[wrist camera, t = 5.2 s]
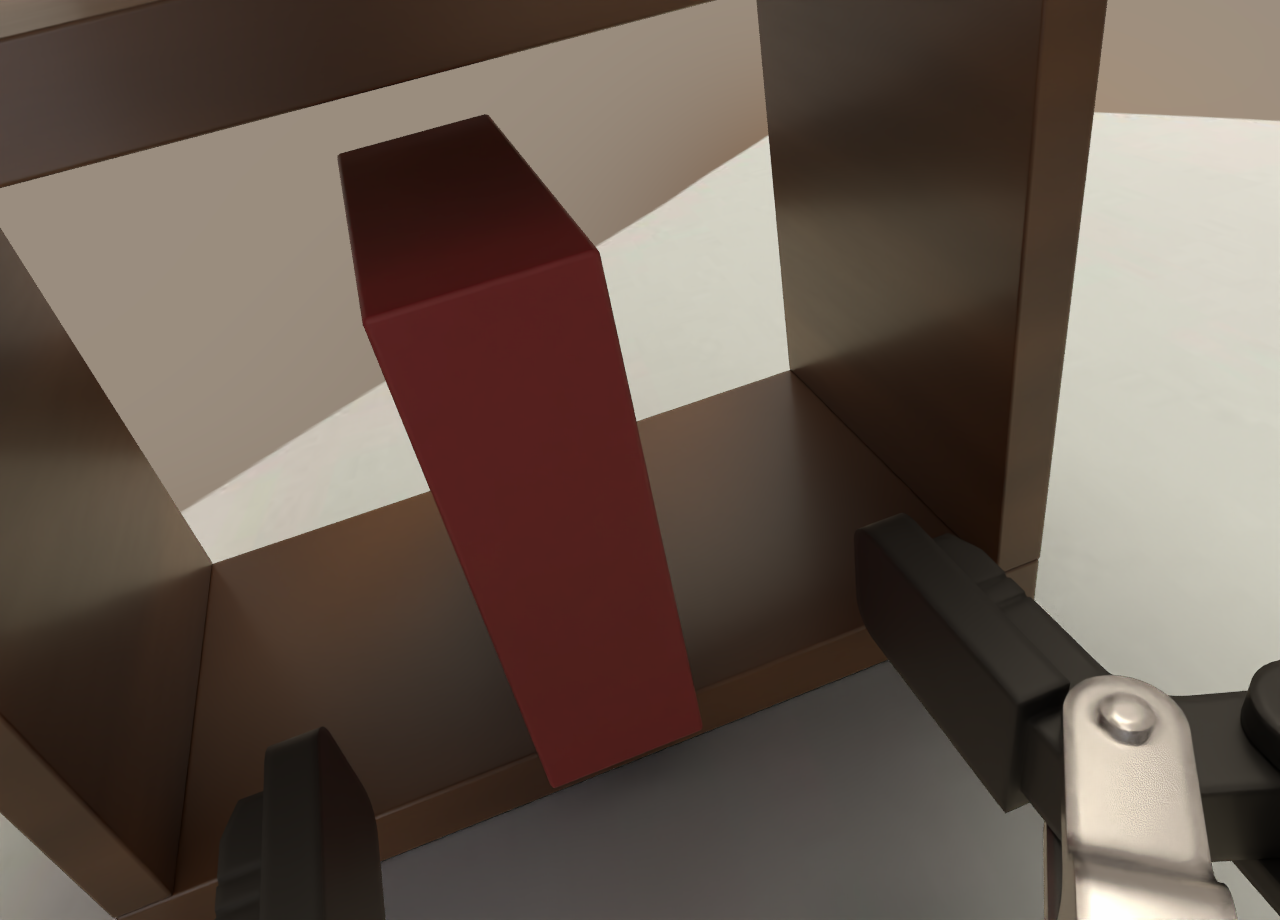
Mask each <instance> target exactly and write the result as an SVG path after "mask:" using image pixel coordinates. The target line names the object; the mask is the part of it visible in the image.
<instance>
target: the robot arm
mask: <svg viewBox="0 0 1280 920" xmlns="http://www.w3.org/2000/svg"><path fill="white" fill-rule="evenodd" d="M854 553H855V574H856V596H857V604H858V608H859V612H860V615H861V618H862V620H863V622H864V625H865V627H866V629H867V631H868V632H869V634H870V636H871V637H872V639H873V640H874V641H875V643H876V644H877V645H878V647H879V648H880V649H881V651H882V652H883V653H884V655H885V656H886V657H887V658H888V660H889V661H890V662H891V664H892V665H893V666H894V668H895V669H896V670H897V672H898V673H899V674H900V676H901V677H902V678H903V680H904V681H905V682H906V683H907V685H908V686H909V687H910V689H911V690H912V691H913V693H914V694H915V695H916V697H917V698H918V699H919V701H920V702H921V703H922V705H923V706H924V707H925V708H926V710H927V711H928V712H929V714H930V715H931V716H932V718H933V719H934V720H935V722H936V723H937V724H938V726H939V727H940V728H941V729H942V731H943V732H944V733H945V735H946V736H947V737H948V739H949V740H950V741H951V743H952V744H953V745H954V747H955V748H956V749H957V751H958V752H959V753H960V754H961V756H962V757H963V758H964V760H965V761H966V762H967V764H968V765H969V766H970V768H971V769H972V770H973V772H974V773H975V774H976V776H977V777H978V778H979V779H980V781H981V782H982V783H983V785H984V786H985V787H986V789H987V790H988V791H989V793H990V794H991V795H992V797H993V798H994V799H995V801H996V802H997V803H998V804H999V806H1000V807H1001V808H1002V810H1003V811H1004V812H1005V813H1007V812H1010V811H1012V810H1014V809H1016V808H1019V807H1021V806H1023V805H1026V804H1028V803H1031V804H1032V806H1033V807H1034V808H1035V809H1036V811H1037V812H1038V813H1039V814H1040V816H1041V817H1042V818H1043V819H1044V827H1043V864H1044V920H1237V915H1236V910H1235V905H1234V902H1233V898H1232V895H1231V893H1230V891H1229V889H1228V887H1227V886H1226V885H1225V884H1224V883H1220V882H1217V881H1216V879H1215V876H1214V873H1213V869H1212V864H1211V862H1220V861H1232V862H1233V863H1234V864H1235V865H1236V866H1237V868H1238V869H1239V870H1240V871H1241V872H1242V873H1243V874H1244V876H1245V877H1246V878H1247V879H1248V880H1249V881H1250V883H1251V884H1252V885H1253V886H1254V887H1255V888H1256V889H1257V891H1258V892H1259V893H1260V894H1261V895H1262V896H1263V897H1264V899H1265V900H1266V901H1267V902H1268V903H1269V904H1270V905H1271V907H1272V908H1273V909H1274V910H1275V911H1276V912H1277V913H1278V915H1279V916H1280V660H1278V661H1274V662H1271V663H1269V664H1267V665H1264V666H1263V667H1262V668H1260V669H1259V670H1258V671H1257V672H1256V673H1255V674H1254V676H1253V678H1252V680H1251V683H1250V686H1249V689H1248V691H1239V692H1227V693H1215V694H1204V695H1192V696H1169V695H1166V694H1165V693H1164V692H1162V691H1161V690H1159V689H1157V688H1156V687H1154V686H1152V685H1150V684H1148V683H1145V682H1143V681H1140V680H1137V679H1134V678H1130V677H1125V676H1116V675H1112V674H1110V673H1109V672H1108V671H1106V670H1105V669H1104V668H1103V667H1102V666H1101V665H1100V664H1099V663H1098V662H1097V661H1096V660H1095V659H1093V658H1092V657H1091V656H1090V655H1089V654H1088V653H1087V652H1086V651H1085V650H1084V649H1083V648H1082V647H1081V646H1080V645H1079V644H1078V643H1077V642H1076V641H1075V640H1074V639H1073V638H1072V637H1071V636H1070V635H1069V634H1068V633H1067V632H1066V631H1065V630H1064V629H1063V628H1062V627H1061V626H1060V625H1059V624H1058V623H1057V622H1056V621H1055V620H1054V619H1053V618H1052V617H1051V616H1049V615H1048V614H1047V613H1046V612H1045V611H1044V610H1043V609H1042V608H1041V607H1040V606H1039V605H1038V604H1037V603H1036V602H1035V601H1034V600H1033V599H1032V598H1031V597H1027V596H1026V594H1025V591H1024V590H1023V589H1022V588H1021V587H1020V586H1019V585H1018V584H1017V583H1016V582H1015V581H1014V580H1013V579H1012V578H1011V577H1010V578H1008V577H1007V576H1006V573H1005V572H1004V571H1003V570H1002V569H1001V568H1000V567H999V566H998V565H997V564H996V563H995V562H994V561H993V560H992V559H991V558H990V557H989V556H988V555H987V554H986V553H985V552H984V551H983V550H982V549H980V548H978V547H976V546H974V545H972V544H970V543H968V542H966V541H964V540H962V539H960V538H958V537H956V536H954V535H951V534H949V533H946V534H943V535H941V536H938V537H936V538H933V539H932V538H931V537H930V536H929V535H928V534H927V533H926V532H925V531H924V530H923V529H922V528H921V527H920V526H919V525H918V524H917V523H916V522H915V521H914V520H913V519H912V518H911V517H910V516H909V515H907V514H905V513H899V514H897V515H894V516H891V517H888V518H886V519H883V520H880V521H878V522H875V523H872V524H870V525H867V526H864V527H862V528H859V529H857V530H856V531H855V534H854ZM217 880H218V886H217V887H216V897H215V910H214V911H215V913H216V919H214V920H386V919H385V908H384V897H383V885H382V874H381V863H380V852H379V841H378V831H377V824H376V819H375V815H374V811H373V808H372V805H371V802H370V799H369V797H368V794H367V792H366V790H365V788H364V786H363V785H362V783H361V781H360V780H359V778H358V777H357V775H356V773H355V772H354V770H353V769H352V767H351V765H350V764H349V762H348V761H347V759H346V757H345V756H344V754H343V753H342V751H341V749H340V748H339V746H338V745H337V743H336V741H335V740H334V738H333V737H332V735H331V733H330V732H329V731H328V730H327V728H325V727H323V726H322V727H319V728H317V729H314V730H311V731H309V732H306V733H303V734H300V735H298V736H295V737H292V738H290V739H287V740H284V741H282V742H279V743H276V744H274V745H271V746H269V747H268V748H267V749H266V752H265V758H264V786H263V791H261V792H258V793H256V794H253V795H250V796H248V797H245V798H243V799H240V800H238V801H237V804H236V806H235V808H234V810H233V812H232V815H231V817H230V819H229V821H228V823H227V825H226V828H225V830H224V832H223V834H222V836H221V839H220V843H219V857H218V870H217Z"/></svg>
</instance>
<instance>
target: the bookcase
mask: <svg viewBox="0 0 1280 920" xmlns="http://www.w3.org/2000/svg"><path fill="white" fill-rule="evenodd" d="M711 1H715V0H0V188H2V187H6V186H10V185H14V184H17V183H21V182H25V181H29V180H32V179H37V178H40V177H44V176H48V175H52V174H55V173H60V172H63V171H67V170H70V169H75V168H79V167H82V166H86V165H90V164H93V163H97V162H101V161H105V160H109V159H113V158H117V157H120V156H124V155H128V154H131V153H135V152H139V151H143V150H147V149H151V148H155V147H159V146H162V145H166V144H170V143H174V142H178V141H181V140H185V139H189V138H193V137H197V136H200V135H204V134H208V133H212V132H215V131H219V130H223V129H227V128H231V127H234V126H238V125H242V124H246V123H250V122H254V121H258V120H261V119H265V118H269V117H273V116H277V115H280V114H284V113H288V112H292V111H296V110H299V109H303V108H307V107H311V106H314V105H318V104H322V103H326V102H330V101H333V100H338V99H341V98H345V97H349V96H353V95H357V94H360V93H364V92H368V91H372V90H376V89H379V88H383V87H387V86H391V85H395V84H399V83H402V82H406V81H410V80H414V79H418V78H421V77H425V76H429V75H433V74H436V73H440V72H444V71H448V70H452V69H456V68H459V67H463V66H467V65H471V64H474V63H479V62H482V61H486V60H490V59H494V58H498V57H501V56H505V55H509V54H513V53H517V52H520V51H524V50H528V49H531V48H535V47H539V46H543V45H547V44H550V43H554V42H558V41H562V40H566V39H570V38H574V37H578V36H581V35H585V34H588V33H592V32H597V31H600V30H604V29H608V28H611V27H616V26H619V25H623V24H627V23H631V22H634V21H638V20H642V19H646V18H650V17H654V16H657V15H661V14H665V13H669V12H673V11H676V10H680V9H684V8H688V7H692V6H696V5H699V4H703V3H707V2H711ZM1106 8H1107V0H757V11H758V21H759V33H760V44H761V55H762V66H763V77H764V88H765V99H766V110H767V122H768V132H769V144H770V155H771V166H772V177H773V188H774V199H775V210H776V221H777V233H778V244H779V255H780V266H781V277H782V288H783V299H784V310H785V321H786V332H787V343H788V355H789V366H790V369H791V370H789V371H786V372H783V373H780V374H777V375H774V376H771V377H768V378H765V379H762V380H759V381H756V382H753V383H750V384H747V385H744V386H741V387H738V388H735V389H732V390H729V391H726V392H723V393H720V394H717V395H714V396H711V397H708V398H706V399H703V400H700V401H697V402H694V403H691V404H688V405H685V406H682V407H679V408H676V409H673V410H670V411H667V412H664V413H661V414H658V415H655V416H652V417H649V418H646V419H643V420H640V421H637V426H638V431H639V436H640V440H641V445H642V449H643V454H644V459H645V463H646V468H647V472H648V477H649V481H650V486H651V491H652V495H653V500H654V504H655V509H656V514H657V518H658V523H659V527H660V532H661V537H662V541H663V546H664V550H665V555H666V559H667V564H668V569H669V573H670V578H671V582H672V587H673V592H674V596H675V601H676V605H677V610H678V615H679V619H680V624H681V628H682V633H683V637H684V642H685V647H686V651H687V656H688V660H689V665H690V670H691V674H692V679H693V683H694V688H695V693H696V697H697V702H698V706H699V711H700V715H701V720H702V729H701V730H700V731H698V732H695V733H693V734H690V735H688V736H685V737H683V738H680V739H678V740H675V741H673V742H670V743H668V744H665V745H662V746H660V747H657V748H655V749H652V750H650V751H647V752H645V753H642V754H640V755H637V756H635V757H632V758H630V759H627V760H625V761H622V762H620V763H617V764H615V765H612V766H610V767H607V768H605V769H602V770H600V771H597V772H595V773H592V774H589V775H587V776H584V777H582V778H579V779H577V780H574V781H572V782H569V783H567V784H564V785H562V786H559V787H557V788H553V787H552V786H551V785H550V783H549V780H548V778H547V775H546V773H545V771H544V768H543V766H542V763H541V761H540V758H539V756H538V753H537V751H536V748H535V746H534V744H533V741H532V739H531V736H530V734H529V731H528V729H527V726H526V724H525V721H524V719H523V717H522V714H521V712H520V709H519V707H518V704H517V702H516V699H515V697H514V694H513V692H512V690H511V687H510V685H509V682H508V680H507V677H506V675H505V672H504V670H503V667H502V665H501V662H500V660H499V658H498V655H497V653H496V650H495V648H494V645H493V643H492V640H491V638H490V635H489V633H488V631H487V628H486V626H485V623H484V621H483V618H482V616H481V613H480V611H479V608H478V606H477V604H476V601H475V599H474V596H473V594H472V591H471V589H470V586H469V584H468V581H467V579H466V577H465V574H464V572H463V569H462V567H461V564H460V562H459V559H458V557H457V554H456V552H455V550H454V547H453V545H452V542H451V540H450V537H449V535H448V532H447V530H446V527H445V525H444V523H443V520H442V518H441V515H440V513H439V510H438V508H437V505H436V503H435V500H434V498H433V495H432V493H431V491H429V492H426V493H423V494H420V495H417V496H414V497H411V498H408V499H405V500H402V501H399V502H396V503H393V504H390V505H387V506H384V507H381V508H378V509H375V510H372V511H369V512H366V513H363V514H360V515H357V516H354V517H351V518H348V519H345V520H342V521H339V522H336V523H333V524H331V525H328V526H325V527H322V528H319V529H316V530H313V531H310V532H307V533H304V534H301V535H298V536H295V537H292V538H289V539H286V540H283V541H280V542H277V543H274V544H271V545H268V546H265V547H262V548H259V549H256V550H253V551H250V552H247V553H244V554H241V555H238V556H235V557H232V558H229V559H226V560H223V561H220V562H217V563H214V564H212V562H211V560H210V558H209V557H208V555H207V554H206V552H205V550H204V549H203V547H202V546H201V544H200V543H199V541H198V539H197V538H196V536H195V535H194V533H193V532H192V530H191V528H190V527H189V525H188V524H187V522H186V520H185V519H184V517H183V516H182V514H181V513H180V511H179V509H178V508H177V506H176V505H175V503H174V502H173V500H172V498H171V497H170V495H169V494H168V492H167V490H166V489H165V487H164V486H163V484H162V483H161V481H160V479H159V478H158V476H157V475H156V473H155V472H154V470H153V468H152V467H151V465H150V464H149V462H148V461H147V459H146V457H145V456H144V454H143V453H142V451H141V450H140V448H139V446H138V445H137V443H136V442H135V440H134V438H133V437H132V435H131V434H130V432H129V431H128V429H127V427H126V426H125V424H124V423H123V421H122V420H121V418H120V416H119V415H118V413H117V412H116V410H115V408H114V407H113V405H112V404H111V402H110V400H109V399H108V397H107V396H106V394H105V393H104V391H103V390H102V388H101V386H100V385H99V383H98V382H97V380H96V378H95V377H94V375H93V374H92V372H91V370H90V369H89V367H88V366H87V364H86V363H85V361H84V359H83V358H82V356H81V355H80V353H79V351H78V350H77V348H76V347H75V345H74V344H73V342H72V341H71V339H70V338H69V336H68V334H67V333H66V331H65V330H64V328H63V326H62V325H61V323H60V321H59V320H58V318H57V317H56V315H55V314H54V312H53V311H52V309H51V307H50V306H49V304H48V303H47V301H46V299H45V298H44V296H43V295H42V293H41V291H40V290H39V289H38V287H37V285H36V284H35V282H34V280H33V279H32V277H31V276H30V274H29V273H28V271H27V269H26V268H25V266H24V265H23V263H22V262H21V260H20V258H19V257H18V255H17V254H16V252H15V251H14V249H13V247H12V246H11V244H10V243H9V241H8V239H7V238H6V236H5V235H4V233H3V232H2V230H1V228H0V813H1V814H2V815H3V816H4V817H6V818H7V819H8V820H9V821H10V822H11V823H12V824H13V825H14V826H15V827H16V828H17V829H18V830H19V831H21V832H22V833H23V834H24V835H25V836H26V837H27V838H28V839H29V840H30V841H31V842H32V843H33V844H34V845H36V846H37V847H38V848H39V849H40V850H41V851H42V852H43V853H44V854H45V855H46V856H47V857H48V858H49V859H50V860H52V861H53V862H54V863H55V864H56V865H57V866H58V867H59V868H60V869H61V870H62V871H63V872H64V873H65V874H67V875H68V876H69V877H70V878H71V879H72V880H73V881H74V882H75V883H76V884H77V885H78V886H79V887H80V888H82V889H83V890H84V891H85V892H86V893H87V894H88V895H89V896H90V897H91V898H92V899H93V900H94V901H95V902H97V903H98V904H99V905H100V906H101V907H102V908H103V909H104V910H105V911H106V912H107V913H108V914H109V915H110V916H112V917H114V918H115V917H116V919H117V920H214V919H216V913H215V911H214V910H215V897H216V887H217V886H218V880H217V870H218V857H219V843H220V839H221V836H222V834H223V832H224V830H225V828H226V825H227V823H228V821H229V819H230V817H231V815H232V812H233V810H234V808H235V806H236V804H237V801H238V800H240V799H243V798H245V797H248V796H250V795H253V794H256V793H258V792H261V791H263V786H264V758H265V752H266V749H267V748H268V747H269V746H271V745H274V744H276V743H279V742H282V741H284V740H287V739H290V738H292V737H295V736H298V735H300V734H303V733H306V732H309V731H311V730H314V729H317V728H319V727H322V726H323V727H325V728H327V730H328V731H329V732H330V733H331V735H332V737H333V738H334V740H335V741H336V743H337V745H338V746H339V748H340V749H341V751H342V753H343V754H344V756H345V757H346V759H347V761H348V762H349V764H350V765H351V767H352V769H353V770H354V772H355V773H356V775H357V777H358V778H359V780H360V781H361V783H362V785H363V786H364V788H365V790H366V792H367V794H368V797H369V799H370V802H371V805H372V808H373V811H374V815H375V819H376V824H377V831H378V841H379V852H380V862H381V861H383V860H386V859H389V858H391V857H394V856H396V855H399V854H401V853H404V852H406V851H409V850H411V849H414V848H416V847H419V846H421V845H424V844H426V843H429V842H431V841H434V840H436V839H439V838H441V837H444V836H446V835H449V834H451V833H454V832H456V831H459V830H461V829H464V828H466V827H469V826H471V825H474V824H476V823H479V822H481V821H484V820H487V819H489V818H492V817H494V816H497V815H499V814H502V813H504V812H507V811H509V810H512V809H514V808H517V807H519V806H522V805H524V804H527V803H529V802H532V801H534V800H537V799H539V798H542V797H544V796H547V795H549V794H552V793H554V792H557V791H559V790H562V789H564V788H567V787H569V786H572V785H574V784H577V783H579V782H582V781H584V780H587V779H590V778H592V777H595V776H597V775H600V774H602V773H605V772H607V771H610V770H612V769H615V768H617V767H620V766H622V765H625V764H627V763H630V762H632V761H635V760H637V759H640V758H642V757H645V756H647V755H650V754H652V753H655V752H657V751H660V750H662V749H665V748H667V747H670V746H672V745H675V744H677V743H680V742H682V741H685V740H688V739H690V738H693V737H695V736H698V735H700V734H703V733H705V732H708V731H710V730H713V729H715V728H718V727H720V726H723V725H725V724H728V723H730V722H733V721H735V720H738V719H740V718H743V717H745V716H748V715H750V714H753V713H755V712H758V711H760V710H763V709H765V708H768V707H770V706H773V705H775V704H778V703H780V702H783V701H786V700H788V699H791V698H793V697H796V696H798V695H801V694H803V693H806V692H808V691H811V690H813V689H816V688H818V687H821V686H823V685H826V684H828V683H831V682H833V681H836V680H838V679H841V678H843V677H846V676H848V675H851V674H853V673H856V672H858V671H861V670H863V669H866V668H868V667H871V666H873V665H876V664H878V663H881V662H884V661H886V660H888V658H887V657H886V656H885V655H884V653H883V652H882V651H881V649H880V648H879V647H878V645H877V644H876V643H875V641H874V640H873V639H872V637H871V636H870V634H869V632H868V631H867V629H866V627H865V625H864V622H863V620H862V618H861V615H860V612H859V608H858V604H857V596H856V574H855V553H854V534H855V531H856V530H857V529H859V528H862V527H864V526H867V525H870V524H872V523H875V522H878V521H880V520H883V519H886V518H888V517H891V516H894V515H897V514H899V513H905V514H907V515H909V516H910V517H911V518H912V519H913V520H914V521H915V522H916V523H917V524H918V525H919V526H920V527H921V528H922V529H923V530H924V531H925V532H926V533H927V534H928V535H929V536H930V537H931V538H932V539H933V538H936V537H938V536H941V535H943V534H946V533H949V534H951V535H954V536H956V537H958V538H960V539H962V540H964V541H966V542H968V543H970V544H972V545H974V546H976V547H978V548H980V549H982V550H983V551H984V552H985V553H986V554H987V555H988V556H989V557H990V558H991V559H992V560H993V561H994V562H995V563H996V564H997V565H998V566H999V567H1000V568H1001V569H1002V570H1003V571H1004V572H1005V573H1006V576H1007V577H1008V578H1010V577H1011V578H1012V579H1013V580H1014V581H1015V582H1016V583H1017V584H1018V585H1019V586H1020V587H1021V588H1022V589H1023V590H1024V591H1025V594H1026V596H1027V597H1031V598H1032V599H1033V600H1034V596H1035V587H1036V579H1037V571H1038V562H1039V561H1038V558H1039V557H1040V551H1041V543H1042V535H1043V527H1044V518H1045V510H1046V502H1047V494H1048V485H1049V477H1050V469H1051V461H1052V452H1053V444H1054V436H1055V428H1056V420H1057V411H1058V403H1059V395H1060V387H1061V378H1062V370H1063V362H1064V354H1065V345H1066V337H1067V329H1068V321H1069V312H1070V304H1071V296H1072V288H1073V280H1074V271H1075V263H1076V255H1077V247H1078V238H1079V230H1080V222H1081V214H1082V205H1083V197H1084V189H1085V181H1086V173H1087V164H1088V156H1089V148H1090V140H1091V131H1092V123H1093V115H1094V106H1095V97H1096V90H1097V82H1098V74H1099V65H1100V57H1101V49H1102V40H1103V33H1104V24H1105V16H1106Z"/></svg>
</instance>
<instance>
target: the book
mask: <svg viewBox="0 0 1280 920" xmlns="http://www.w3.org/2000/svg"><path fill="white" fill-rule="evenodd" d="M338 165H339V172H340V178H341V185H342V191H343V198H344V205H345V211H346V218H347V224H348V230H349V237H350V244H351V250H352V257H353V263H354V270H355V276H356V283H357V290H358V296H359V302H360V309H361V316H362V322H363V326H364V328H365V331H366V333H367V336H368V338H369V341H370V343H371V345H372V348H373V350H374V353H375V355H376V358H377V360H378V363H379V365H380V368H381V370H382V373H383V375H384V377H385V380H386V383H387V385H388V387H389V390H390V392H391V395H392V397H393V400H394V402H395V405H396V407H397V410H398V412H399V414H400V417H401V419H402V422H403V424H404V427H405V429H406V432H407V434H408V437H409V439H410V441H411V444H412V446H413V449H414V451H415V454H416V456H417V459H418V461H419V464H420V466H421V468H422V471H423V473H424V476H425V478H426V481H427V483H428V486H429V488H430V491H431V493H432V495H433V498H434V500H435V503H436V505H437V508H438V510H439V513H440V515H441V518H442V520H443V523H444V525H445V527H446V530H447V532H448V535H449V537H450V540H451V542H452V545H453V547H454V550H455V552H456V554H457V557H458V559H459V562H460V564H461V567H462V569H463V572H464V574H465V577H466V579H467V581H468V584H469V586H470V589H471V591H472V594H473V596H474V599H475V601H476V604H477V606H478V608H479V611H480V613H481V616H482V618H483V621H484V623H485V626H486V628H487V631H488V633H489V635H490V638H491V640H492V643H493V645H494V648H495V650H496V653H497V655H498V658H499V660H500V662H501V665H502V667H503V670H504V672H505V675H506V677H507V680H508V682H509V685H510V687H511V690H512V692H513V694H514V697H515V699H516V702H517V704H518V707H519V709H520V712H521V714H522V717H523V719H524V721H525V724H526V726H527V729H528V731H529V734H530V736H531V739H532V741H533V744H534V746H535V748H536V751H537V753H538V756H539V758H540V761H541V763H542V766H543V768H544V771H545V773H546V775H547V778H548V780H549V783H550V785H551V786H552V787H553V788H557V787H559V786H562V785H564V784H567V783H569V782H572V781H574V780H577V779H579V778H582V777H584V776H587V775H589V774H592V773H595V772H597V771H600V770H602V769H605V768H607V767H610V766H612V765H615V764H617V763H620V762H622V761H625V760H627V759H630V758H632V757H635V756H637V755H640V754H642V753H645V752H647V751H650V750H652V749H655V748H657V747H660V746H662V745H665V744H668V743H670V742H673V741H675V740H678V739H680V738H683V737H685V736H688V735H690V734H693V733H695V732H698V731H700V730H701V729H702V720H701V715H700V711H699V706H698V702H697V697H696V693H695V688H694V683H693V679H692V674H691V670H690V665H689V660H688V656H687V651H686V647H685V642H684V637H683V633H682V628H681V624H680V619H679V615H678V610H677V605H676V601H675V596H674V592H673V587H672V582H671V578H670V573H669V569H668V564H667V559H666V555H665V550H664V546H663V541H662V537H661V532H660V527H659V523H658V518H657V514H656V509H655V504H654V500H653V495H652V491H651V486H650V481H649V477H648V472H647V468H646V463H645V459H644V454H643V449H642V445H641V440H640V436H639V431H638V426H637V422H636V417H635V413H634V408H633V403H632V399H631V394H630V390H629V385H628V381H627V376H626V371H625V367H624V362H623V358H622V353H621V348H620V344H619V339H618V335H617V330H616V325H615V321H614V316H613V312H612V307H611V303H610V298H609V293H608V289H607V284H606V280H605V275H604V270H603V266H602V261H601V257H600V252H599V251H598V250H597V248H596V247H595V246H594V245H593V243H592V242H591V241H590V240H589V239H588V237H587V236H586V235H585V234H584V233H583V231H582V230H581V229H580V227H579V226H578V225H577V224H576V223H575V221H574V220H573V219H572V218H571V216H570V215H569V214H568V213H567V211H566V210H565V209H564V208H563V207H562V205H561V204H560V203H559V202H558V200H557V199H556V198H555V197H554V195H553V194H552V193H551V192H550V191H549V189H548V188H547V187H546V186H545V184H544V183H543V182H542V181H541V179H540V178H539V177H538V176H537V174H536V173H535V172H534V171H533V170H532V168H531V167H530V166H529V165H528V164H527V162H526V161H525V160H524V159H523V157H522V156H521V155H520V154H519V152H518V151H517V150H516V149H515V147H514V146H513V145H512V144H511V143H510V142H509V140H508V139H507V138H506V136H505V135H504V134H503V133H502V131H501V130H500V129H499V128H498V126H497V125H496V124H495V123H494V121H493V120H492V119H491V118H490V117H489V115H485V114H484V115H481V116H477V117H473V118H470V119H466V120H462V121H458V122H455V123H451V124H448V125H444V126H440V127H436V128H433V129H429V130H426V131H422V132H418V133H414V134H411V135H407V136H403V137H400V138H396V139H392V140H389V141H385V142H381V143H378V144H374V145H371V146H367V147H363V148H359V149H356V150H352V151H348V152H345V153H341V154H339V155H338Z"/></svg>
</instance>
